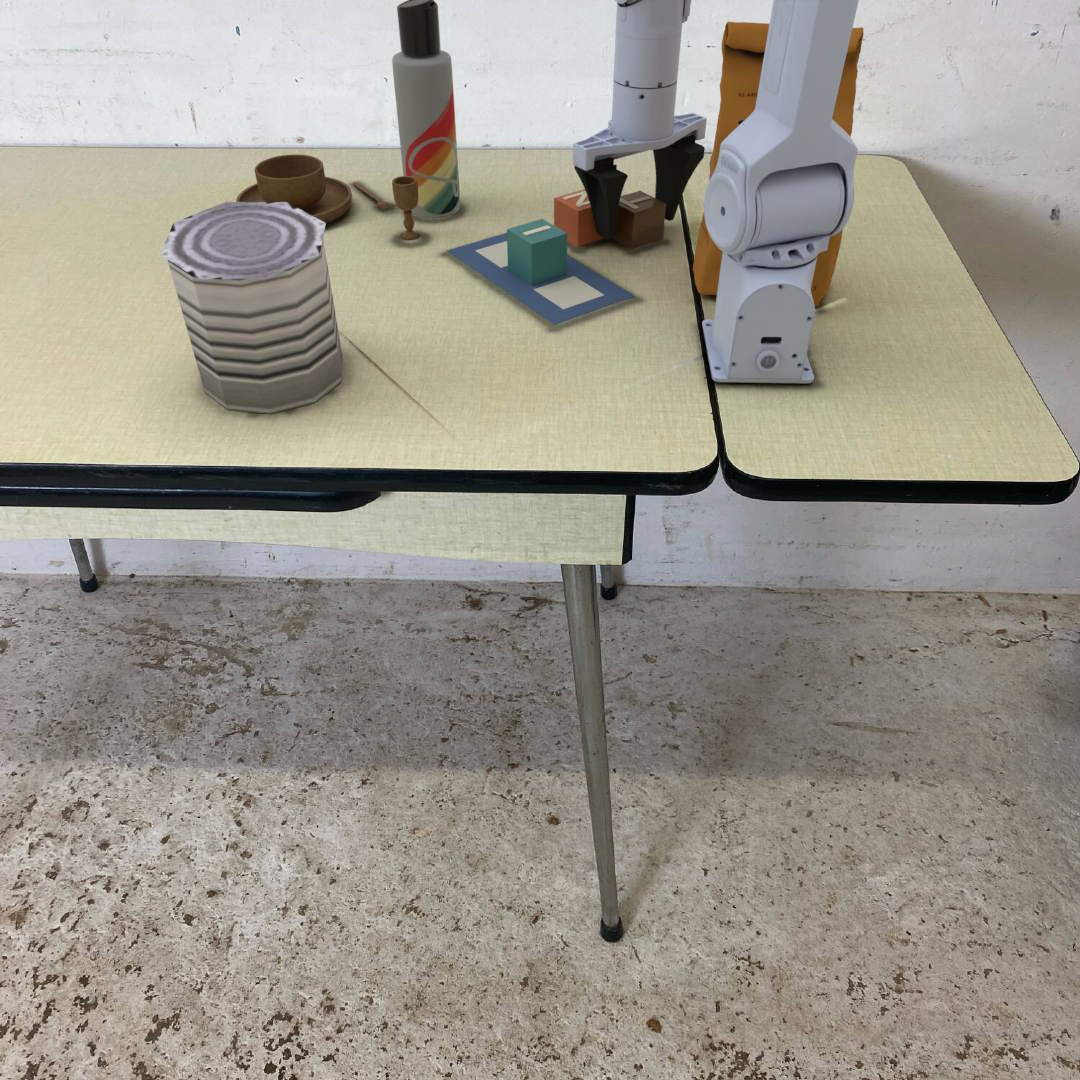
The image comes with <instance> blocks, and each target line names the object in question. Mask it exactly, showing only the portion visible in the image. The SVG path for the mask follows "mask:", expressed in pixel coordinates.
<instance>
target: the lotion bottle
mask: <svg viewBox="0 0 1080 1080" xmlns="http://www.w3.org/2000/svg"><path fill="white" fill-rule="evenodd" d="M396 12H397V13H396V14H397V22H398V32H399V33H398V35H399V42H400V51H399V52H397V53H395V54H394V55H393V56H392V59H391V63H392V64H391V65H392V75H393V87H394V96H395V105H396V106H395V107H396V115H397V116H396V117H397V126H398V127H397V128H398V136H399V145H400V146H399V147H400V154H401V166H402V176H412V177H415V178H416V179H417V184H418V204H417V206H416V207H415V208H414V209H412V210H411V211H412V216H414V217H418V218H424V219H440V218H446V217H449V216H452V215H454V214H456V213H458V211H459V210H460V208H461V196H460V195H461V194H460V192H461V191H460V176H459V159H458V158H459V157H458V141H457V127H456V126H457V125H456V112H455V111H456V110H455V95H454V94H455V93H454V80H453V78H454V77H453V65H452V64H453V63H452V57H451V54H450V53H449V52H448V51H445V50H442V49H441V33H440V32H441V31H440V19H439V18H440V15H439V4H438V3H437V2H436V1H435V0H405V1H403V2H401V3H399V4H398V5H397V6H396Z"/></svg>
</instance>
